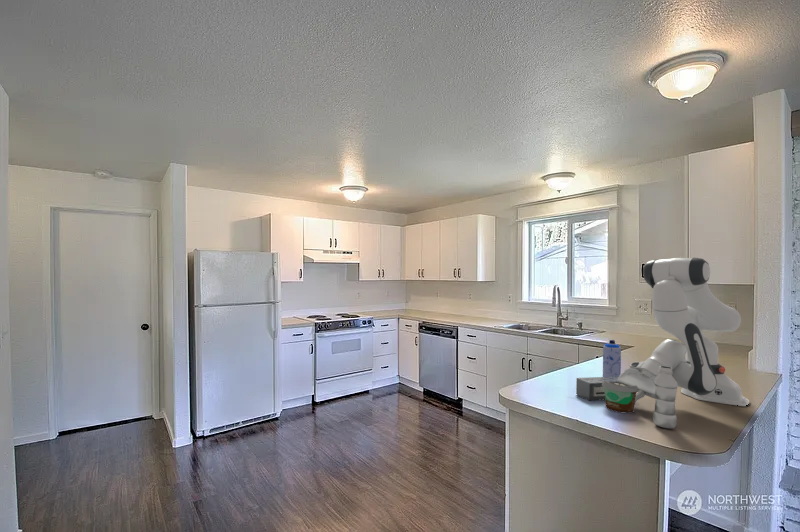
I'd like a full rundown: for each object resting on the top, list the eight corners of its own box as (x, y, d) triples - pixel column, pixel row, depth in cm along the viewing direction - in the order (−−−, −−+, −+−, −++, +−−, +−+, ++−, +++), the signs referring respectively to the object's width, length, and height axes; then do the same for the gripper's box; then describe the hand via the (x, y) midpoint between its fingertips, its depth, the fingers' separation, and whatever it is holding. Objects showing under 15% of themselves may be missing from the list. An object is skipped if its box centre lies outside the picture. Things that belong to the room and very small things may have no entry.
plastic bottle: (655, 421, 135) (656, 363, 136) (678, 427, 130) (679, 367, 131) (650, 426, 131) (651, 366, 131) (674, 432, 126) (675, 370, 126)
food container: (596, 407, 148) (597, 381, 149) (602, 404, 153) (602, 378, 153) (633, 416, 140) (633, 388, 140) (638, 412, 144) (638, 385, 144)
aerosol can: (622, 386, 179) (623, 342, 179) (603, 383, 182) (603, 340, 182) (619, 381, 186) (620, 339, 187) (601, 379, 189) (601, 338, 189)
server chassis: (617, 392, 168) (617, 376, 168) (632, 399, 160) (633, 381, 160) (576, 394, 164) (576, 377, 164) (590, 401, 156) (590, 383, 156)
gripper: (682, 386, 139) (659, 415, 137) (636, 372, 159) (615, 397, 157) (672, 374, 138) (648, 403, 136) (627, 361, 158) (606, 386, 156)
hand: (630, 399), depth 147 cm, fingers closed
